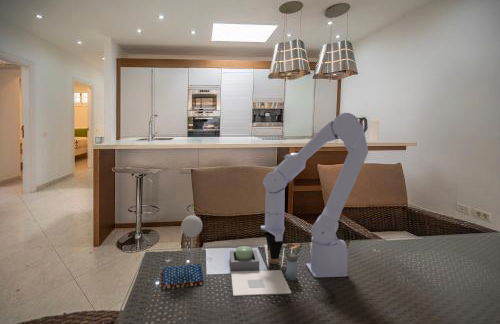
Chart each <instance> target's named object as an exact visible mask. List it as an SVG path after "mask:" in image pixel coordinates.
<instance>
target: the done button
mask: <svg viewBox="0 0 500 324" xmlns="http://www.w3.org/2000/svg"><path fill="white" fill-rule="evenodd" d="M252 250H253V248H252V247H250V246H243V245H242V246H238V247H236V248H235V251H236V260H252ZM236 260H235V261H236Z"/></svg>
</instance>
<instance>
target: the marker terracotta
mask: <svg viewBox="0 0 500 324" xmlns="http://www.w3.org/2000/svg"><path fill="white" fill-rule="evenodd" d="M268 263H269V264H271V265H276V264H278V263H279V258H278V259H271V256H270V248H269V251H268Z"/></svg>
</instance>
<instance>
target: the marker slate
mask: <svg viewBox="0 0 500 324" xmlns="http://www.w3.org/2000/svg"><path fill="white" fill-rule="evenodd" d="M285 273H286V274H285V279H287V280H289V281H295V280H297V278H298V277H297V276H298V255H297V254H295V253H288V254H286V272H285Z"/></svg>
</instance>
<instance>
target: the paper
mask: <svg viewBox="0 0 500 324" xmlns="http://www.w3.org/2000/svg"><path fill="white" fill-rule="evenodd" d="M230 273H231V284H232V295H233V297H240V296H243V297H244V296H264V295H265V296H266V295H267V296H268V295H269V296H270V295H288V294H292V291H291V289H290V286H289V285H288V282H287V280H286V277H285V276H284V274H283V272H282V269H277V270H275V269H274V270H273V269H272V270H240V271H230Z"/></svg>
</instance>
